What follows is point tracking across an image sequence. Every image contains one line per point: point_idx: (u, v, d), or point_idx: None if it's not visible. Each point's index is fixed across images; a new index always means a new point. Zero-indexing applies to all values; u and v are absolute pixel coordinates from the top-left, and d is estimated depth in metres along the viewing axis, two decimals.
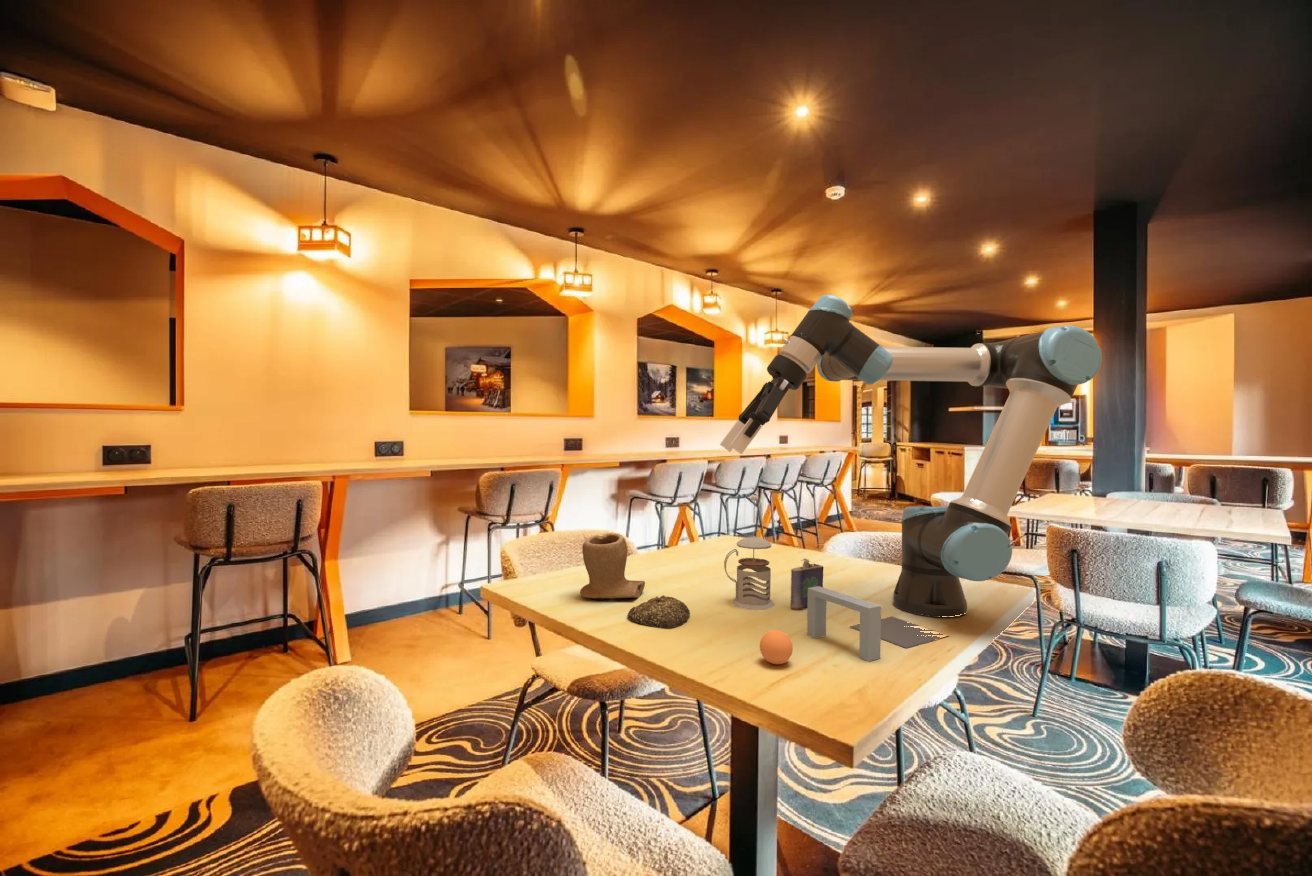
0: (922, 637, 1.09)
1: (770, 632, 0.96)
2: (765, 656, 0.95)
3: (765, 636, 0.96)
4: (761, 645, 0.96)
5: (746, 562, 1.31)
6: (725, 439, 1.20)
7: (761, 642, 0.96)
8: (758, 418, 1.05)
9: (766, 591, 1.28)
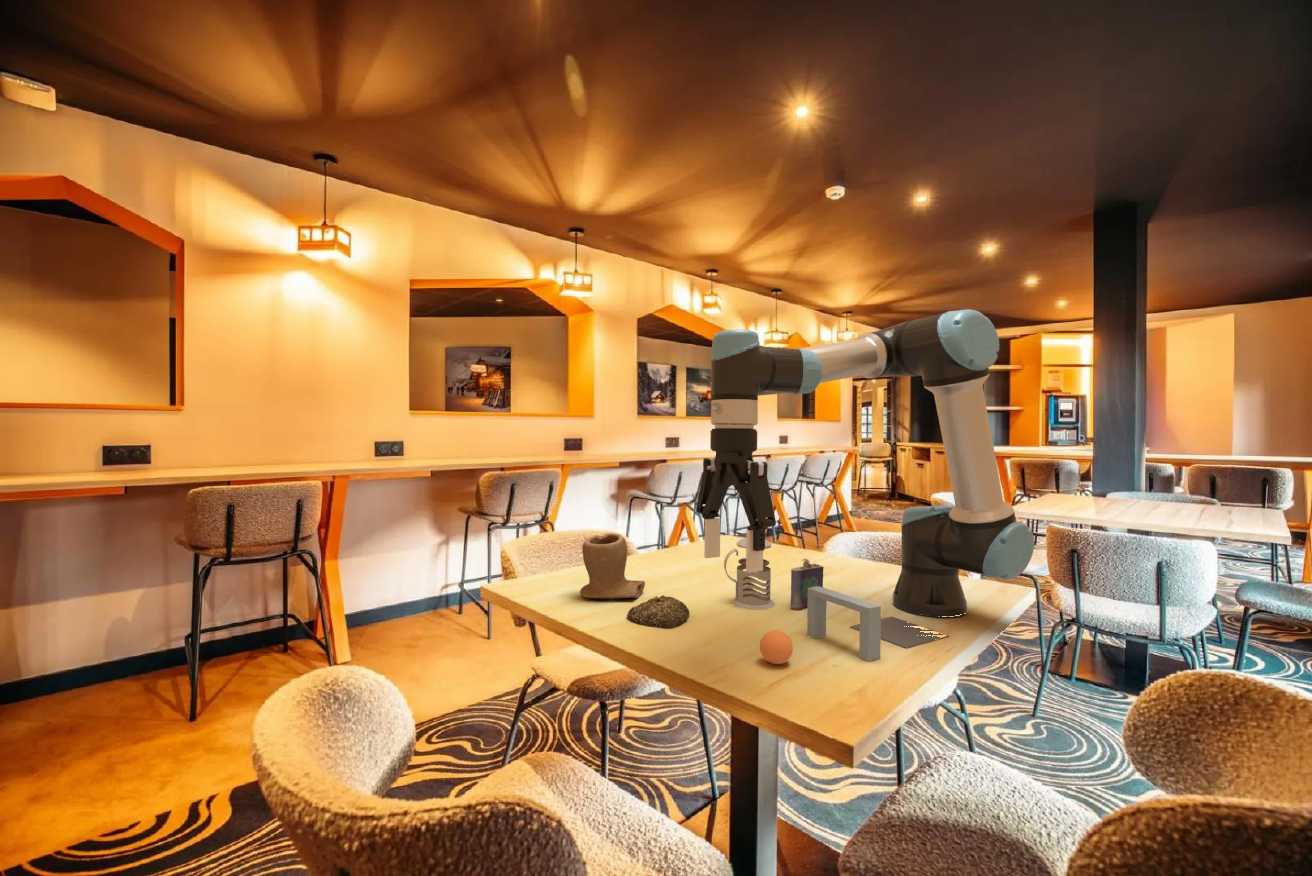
0: (922, 637, 1.09)
1: (770, 632, 0.96)
2: (765, 656, 0.95)
3: (765, 636, 0.96)
4: (761, 645, 0.96)
5: None
6: (708, 549, 0.96)
7: (761, 642, 0.96)
8: (763, 527, 0.85)
9: (766, 591, 1.28)
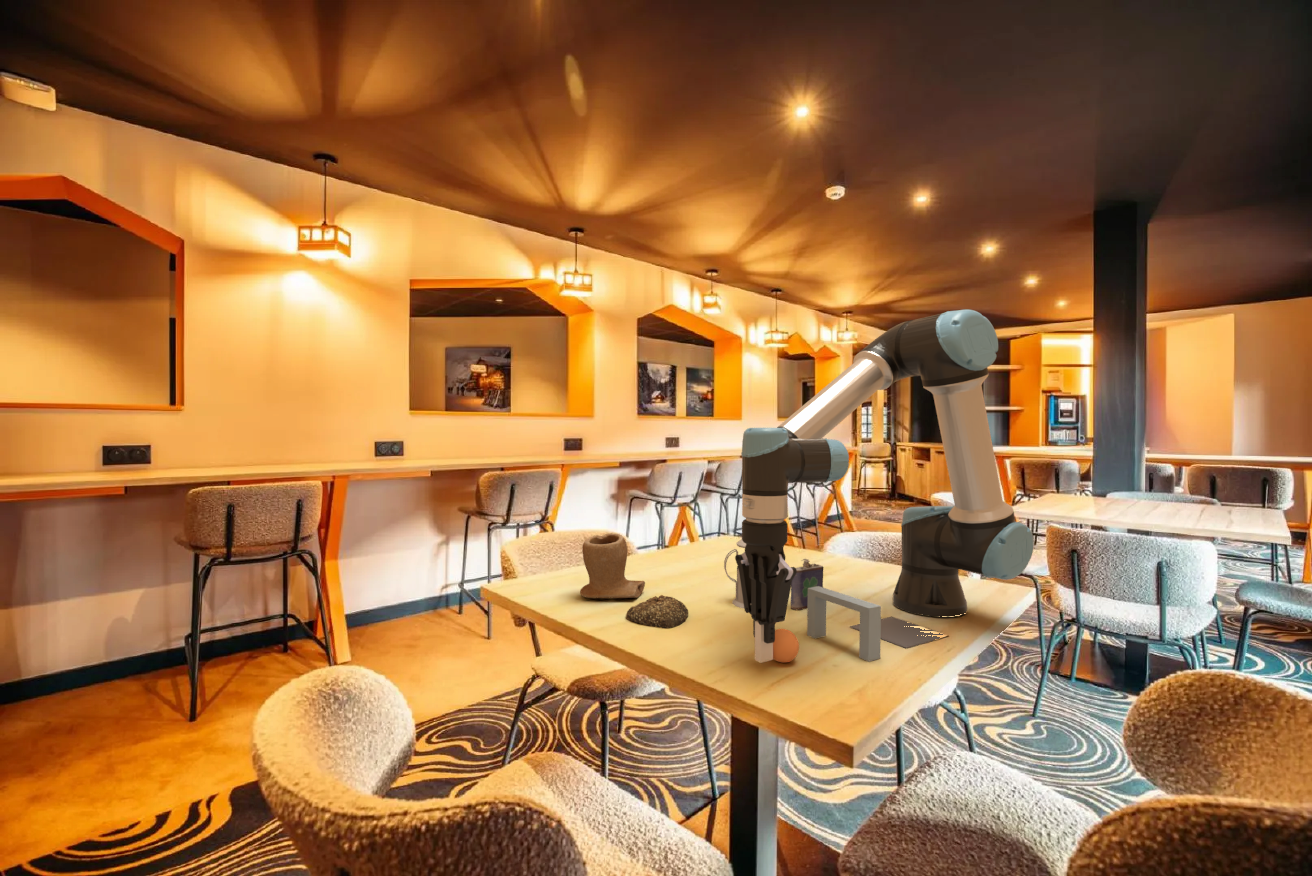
0: (922, 637, 1.09)
1: (780, 629, 0.98)
2: None
3: (775, 631, 0.97)
4: None
5: None
6: None
7: None
8: (773, 623, 0.93)
9: None
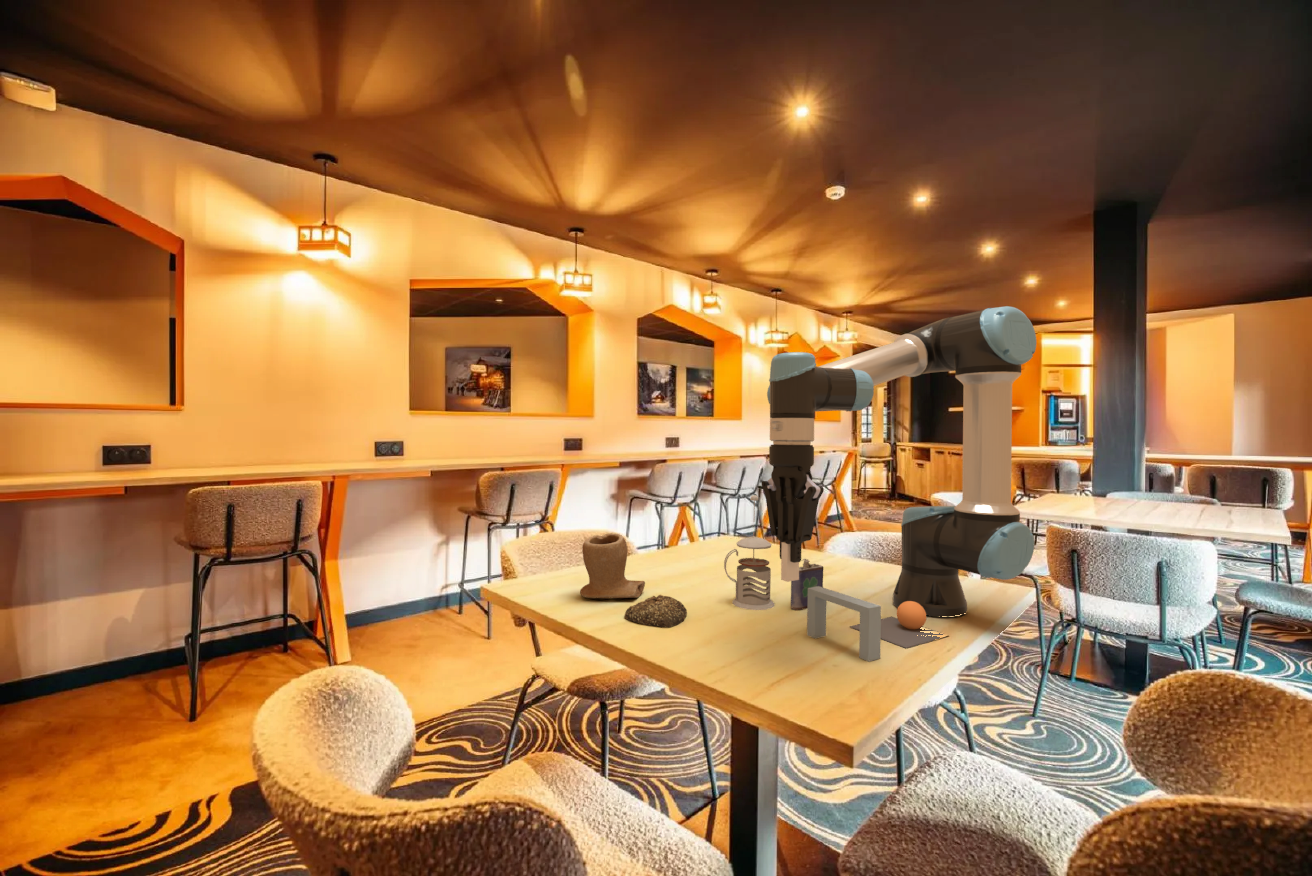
0: (922, 637, 1.09)
1: (907, 602, 1.14)
2: (903, 621, 1.13)
3: (903, 605, 1.14)
4: (900, 612, 1.14)
5: (746, 562, 1.31)
6: None
7: (899, 609, 1.14)
8: (799, 541, 0.95)
9: (766, 591, 1.28)
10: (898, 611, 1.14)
